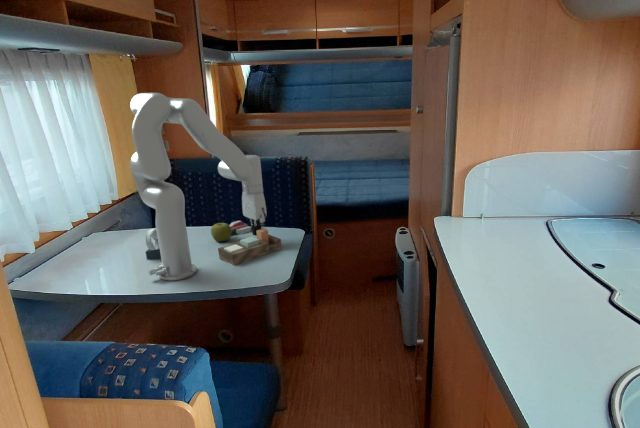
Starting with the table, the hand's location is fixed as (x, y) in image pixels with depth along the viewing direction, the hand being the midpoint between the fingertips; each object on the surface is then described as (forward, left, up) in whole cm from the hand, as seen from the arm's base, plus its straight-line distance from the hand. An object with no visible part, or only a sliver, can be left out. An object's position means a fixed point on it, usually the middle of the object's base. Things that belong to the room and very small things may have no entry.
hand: (257, 234), depth 181 cm
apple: (-7, +16, -5) cm, 18 cm away
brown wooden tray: (-7, -5, -5) cm, 10 cm away
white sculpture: (-33, +20, -5) cm, 39 cm away
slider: (0, -4, -2) cm, 4 cm away
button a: (-14, -5, -3) cm, 15 cm away
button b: (-7, -5, -2) cm, 9 cm away
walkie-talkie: (+5, +21, -5) cm, 22 cm away
